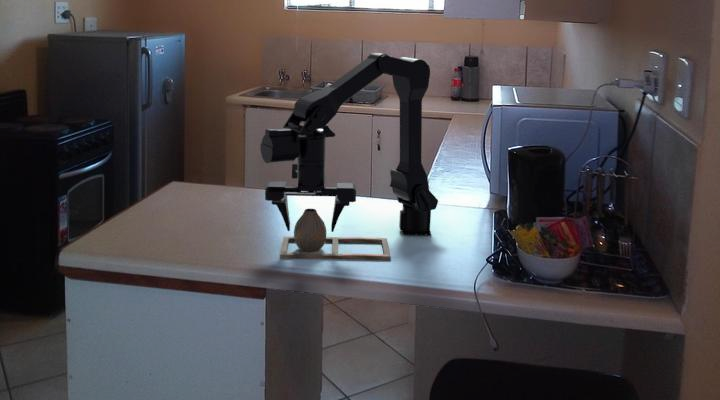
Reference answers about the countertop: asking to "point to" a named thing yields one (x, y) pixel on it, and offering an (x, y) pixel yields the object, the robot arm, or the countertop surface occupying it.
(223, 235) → the countertop surface
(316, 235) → the vase
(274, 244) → the countertop surface
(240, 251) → the countertop surface
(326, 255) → the rail frame
